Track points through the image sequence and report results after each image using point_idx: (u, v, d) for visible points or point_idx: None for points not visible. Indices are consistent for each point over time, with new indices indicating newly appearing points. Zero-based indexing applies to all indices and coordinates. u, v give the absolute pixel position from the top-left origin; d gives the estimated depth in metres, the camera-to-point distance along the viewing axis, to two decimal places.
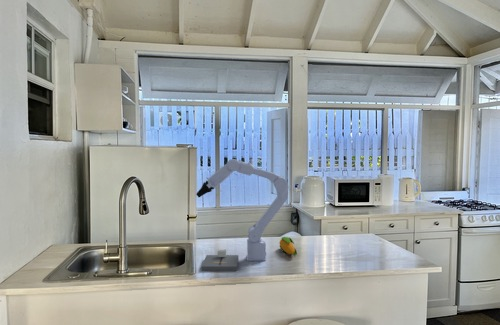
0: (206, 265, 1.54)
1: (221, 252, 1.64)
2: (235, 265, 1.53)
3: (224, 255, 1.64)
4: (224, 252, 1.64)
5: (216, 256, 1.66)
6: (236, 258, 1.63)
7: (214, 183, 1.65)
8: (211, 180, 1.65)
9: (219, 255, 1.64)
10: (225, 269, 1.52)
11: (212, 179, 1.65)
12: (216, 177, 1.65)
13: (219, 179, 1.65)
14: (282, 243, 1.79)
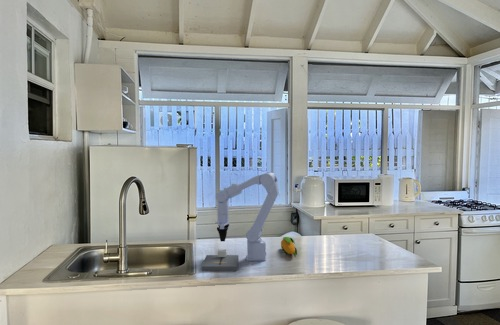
0: (206, 265, 1.54)
1: (221, 252, 1.64)
2: (235, 265, 1.53)
3: (224, 255, 1.64)
4: (224, 252, 1.64)
5: (216, 256, 1.66)
6: (236, 258, 1.63)
7: (224, 221, 1.70)
8: (220, 221, 1.70)
9: (219, 255, 1.64)
10: (225, 269, 1.52)
11: (220, 220, 1.70)
12: (221, 216, 1.70)
13: (224, 215, 1.70)
14: (283, 243, 1.79)
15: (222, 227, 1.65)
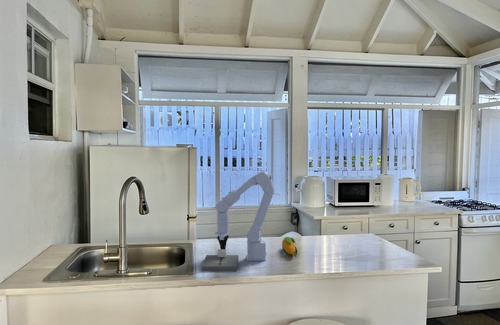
0: (206, 265, 1.54)
1: (221, 252, 1.64)
2: (235, 265, 1.53)
3: (224, 255, 1.64)
4: (224, 252, 1.64)
5: (216, 256, 1.66)
6: (236, 258, 1.63)
7: (224, 232, 1.68)
8: (220, 232, 1.69)
9: (219, 255, 1.64)
10: (225, 269, 1.52)
11: (220, 231, 1.69)
12: (221, 226, 1.68)
13: (224, 225, 1.68)
14: (284, 243, 1.79)
15: (222, 238, 1.64)
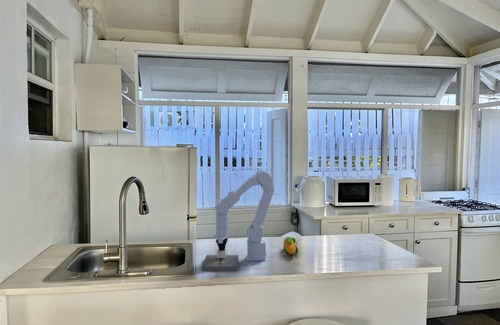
0: (206, 265, 1.54)
1: (221, 253, 1.62)
2: (235, 265, 1.53)
3: (224, 256, 1.62)
4: (224, 253, 1.62)
5: (216, 256, 1.66)
6: (236, 258, 1.63)
7: (223, 235, 1.63)
8: (218, 235, 1.63)
9: (219, 256, 1.62)
10: (225, 269, 1.52)
11: (218, 233, 1.63)
12: (219, 229, 1.63)
13: (223, 228, 1.63)
14: (285, 243, 1.79)
15: (221, 241, 1.58)
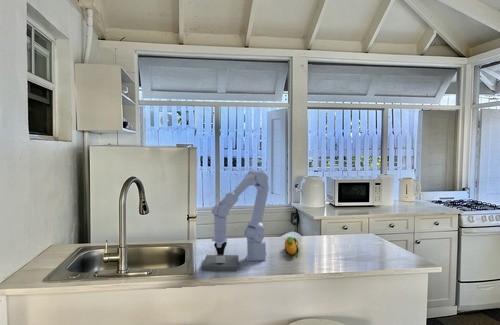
0: (206, 265, 1.54)
1: (219, 258, 1.56)
2: (235, 265, 1.53)
3: (222, 261, 1.56)
4: (222, 258, 1.56)
5: None
6: (236, 258, 1.63)
7: (221, 238, 1.56)
8: (217, 239, 1.56)
9: (217, 261, 1.56)
10: (225, 269, 1.52)
11: (217, 237, 1.56)
12: (218, 233, 1.56)
13: (222, 232, 1.56)
14: (286, 243, 1.79)
15: (219, 245, 1.52)
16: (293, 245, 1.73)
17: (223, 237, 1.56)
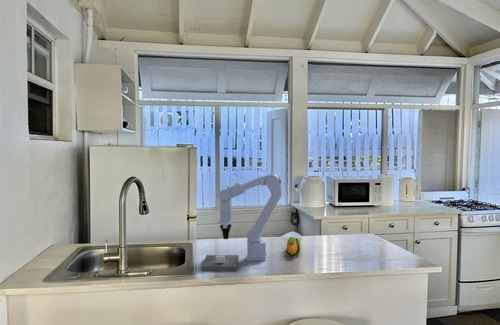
0: (206, 265, 1.54)
1: (219, 258, 1.55)
2: (235, 265, 1.53)
3: (222, 261, 1.56)
4: (222, 258, 1.55)
5: None
6: (236, 258, 1.63)
7: (227, 220, 1.68)
8: (223, 220, 1.68)
9: (217, 261, 1.56)
10: (225, 269, 1.52)
11: (222, 219, 1.68)
12: (224, 215, 1.68)
13: (227, 214, 1.68)
14: (287, 243, 1.79)
15: (225, 226, 1.64)
16: (294, 245, 1.72)
17: (228, 219, 1.69)
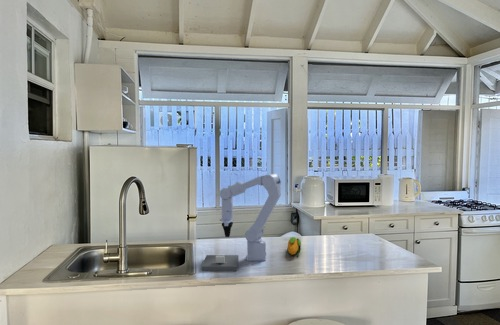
0: (206, 265, 1.54)
1: (219, 258, 1.55)
2: (235, 265, 1.53)
3: (222, 261, 1.56)
4: (222, 258, 1.55)
5: None
6: (236, 258, 1.63)
7: (228, 218, 1.72)
8: (224, 218, 1.72)
9: (217, 261, 1.56)
10: (225, 269, 1.52)
11: (224, 217, 1.72)
12: (225, 213, 1.72)
13: (228, 212, 1.72)
14: (288, 243, 1.79)
15: (226, 224, 1.67)
16: (294, 245, 1.72)
17: (230, 217, 1.72)
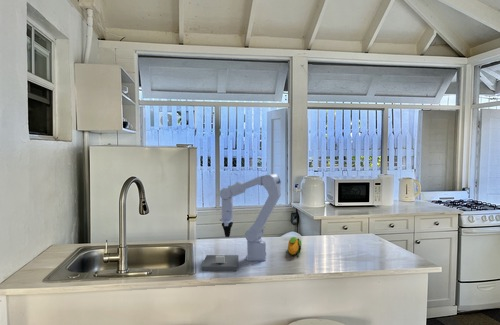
0: (206, 265, 1.54)
1: (219, 258, 1.55)
2: (235, 265, 1.53)
3: (222, 261, 1.56)
4: (222, 258, 1.55)
5: None
6: (236, 258, 1.63)
7: (228, 218, 1.72)
8: (224, 218, 1.72)
9: (217, 261, 1.56)
10: (225, 269, 1.52)
11: (224, 217, 1.72)
12: (225, 213, 1.72)
13: (228, 212, 1.72)
14: (288, 243, 1.79)
15: (226, 224, 1.67)
16: (294, 245, 1.72)
17: (230, 217, 1.72)
